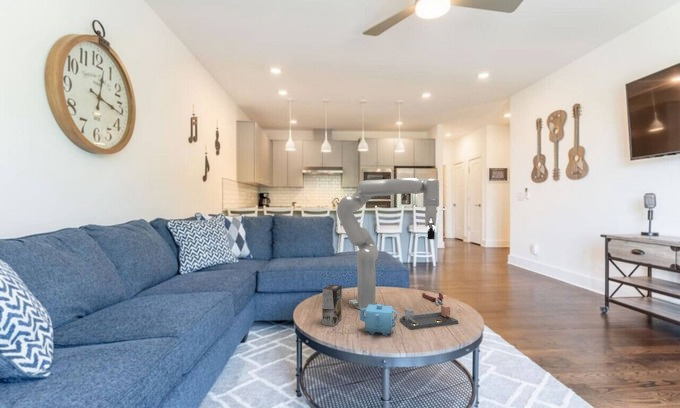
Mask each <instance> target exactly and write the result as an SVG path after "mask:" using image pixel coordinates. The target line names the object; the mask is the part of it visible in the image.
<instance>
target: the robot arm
mask: <svg viewBox="0 0 680 408" xmlns="http://www.w3.org/2000/svg"><path fill="white" fill-rule="evenodd" d="M356 189H357V190H356V191H355V193H354V194H353V195H347V196H346V195H345V196H344V197H342V198H341V199H340V200H339V202H338V204H337V208H336V214H337V217H338V219H339V221H340V224H341V225H342V228H343V230H344V232H345V234H346V236H347V238H348V240H349V242H350V243H351V245H352V246H353V247H354V246H355V247H357V248H358V249H359V250H358V251H357V253H356V266H357V267H356V268H357V270H356V271H357V296H356V297H355V298H354V299H348V304H349V305H350V304H351V305H354V307H355V308H356V309H358V310H360V309H362V308H367V307H368V304H370V305H377V304H379V303H378V302H376V301H377V300H376V296H377V295H376V293H377V292H376V289H377V288H376V285H377V283H376V277H377V276H376V260H377V259H378V258H379V250H378V247H377V244H376V242H375V241H374V240H373V237H372V236H371V234H370V232H369V231H368V229H366V228H364V227H361V225H360V222H359V221H358V219H357V218H356V216H355V214H354V212H358V211H359V210H360V209H361V208H362V207H363V206H365V204H367V202H369V201H370V200H371V198H373V197H384V196H386V197H387V196H388V197H389V196H392V195H399V194H400V195H402V194H405V195H406V194H414V195H419V194H422V196H423V197H422V198H423V199H422V201H423V202H422V203H423V204H422V205H423V207H425V208H424V209H425V211H424V216H425V218H424V222H425V223H424V227H427V240H435V238H436V236H435V234H436V233H435V232H436V230H435V227H436V225H437V208H439V207H440V181H439V179H437V178H425V179H419V178H417V177H407V178H386V179H371V180H369V179H368V180H367V179H366V180H362V181H359V183H358V184H357V187H356Z"/></svg>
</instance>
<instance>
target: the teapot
mask: <svg viewBox="0 0 680 408" xmlns="http://www.w3.org/2000/svg"><path fill="white" fill-rule="evenodd" d="M394 314H395V316H394ZM359 316H360V317H359V319H360V321H362V322H364V324H365V332H369V334H370V335H375V334H376V333H382V336H385V337H387V336H389V334H392V333H393V328H395V327H397V324H396V322H395V321H396V320H397V318H398V312H397V311H396V310H395V309H394V307H393V305H383V304H381V303H378V304H377V305H370V304H368V307H367V308H362V309H359Z"/></svg>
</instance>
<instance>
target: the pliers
mask: <svg viewBox="0 0 680 408" xmlns="http://www.w3.org/2000/svg"><path fill="white" fill-rule="evenodd" d="M421 295H422V297H423V298H424V299H425V300H428V301H430V302H431V303H435V305H437V306H439V305H440V306H441V305H444V304H443V299H444V295H443V294H442V293H441V292H438V297H437V298H436V297H433V296H432V295H431V296H430V295H428V294H426V293H425V292H423V293H421Z"/></svg>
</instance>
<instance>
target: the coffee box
mask: <svg viewBox="0 0 680 408" xmlns="http://www.w3.org/2000/svg"><path fill="white" fill-rule="evenodd" d="M342 288H343V286H342V285H341V284H340V285H339V284H328V285H327V286H325V287H324V288H322V305H321V306H322V309H321V311H322V312H321V313H322V316H321V317H322V319H321V321H322V322H321V324H322V325H324V326H330V327H336V326H337V325H338V324H339V323H340V322H341V321H342V318H343V317H342V316H343V314H342V313H343V312H342V311H343V309H342V303H343V301H342V300H343V297H342V295H343V294H342V293H343V289H342Z"/></svg>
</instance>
